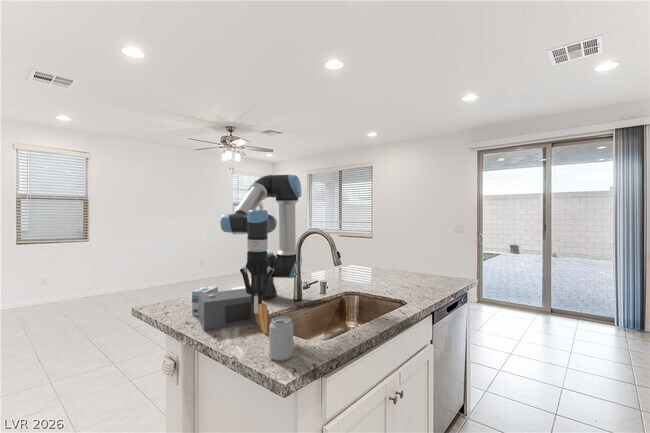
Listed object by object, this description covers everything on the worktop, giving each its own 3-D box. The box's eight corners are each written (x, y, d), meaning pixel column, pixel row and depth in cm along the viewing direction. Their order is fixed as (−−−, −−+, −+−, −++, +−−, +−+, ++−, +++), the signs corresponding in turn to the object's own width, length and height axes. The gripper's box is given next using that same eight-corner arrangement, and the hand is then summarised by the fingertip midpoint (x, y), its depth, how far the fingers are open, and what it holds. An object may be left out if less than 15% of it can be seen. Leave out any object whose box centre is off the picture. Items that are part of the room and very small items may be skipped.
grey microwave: (248, 312, 143) (248, 286, 143) (258, 321, 131) (258, 294, 131) (198, 319, 133) (198, 292, 133) (204, 331, 120) (204, 301, 120)
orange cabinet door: (255, 320, 130) (255, 295, 130) (259, 320, 131) (259, 295, 131) (264, 333, 117) (264, 305, 117) (269, 332, 118) (269, 304, 118)
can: (264, 360, 98) (264, 321, 97) (276, 350, 105) (276, 314, 104) (286, 364, 95) (286, 324, 95) (297, 353, 102) (297, 316, 102)
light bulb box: (205, 316, 137) (205, 292, 136) (191, 315, 138) (191, 291, 138) (218, 309, 147) (218, 286, 147) (205, 308, 148) (205, 285, 148)
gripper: (237, 251, 116) (236, 314, 117) (272, 252, 116) (271, 316, 116) (243, 248, 124) (243, 308, 124) (276, 249, 123) (275, 309, 124)
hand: (256, 312), depth 120 cm, fingers closed
